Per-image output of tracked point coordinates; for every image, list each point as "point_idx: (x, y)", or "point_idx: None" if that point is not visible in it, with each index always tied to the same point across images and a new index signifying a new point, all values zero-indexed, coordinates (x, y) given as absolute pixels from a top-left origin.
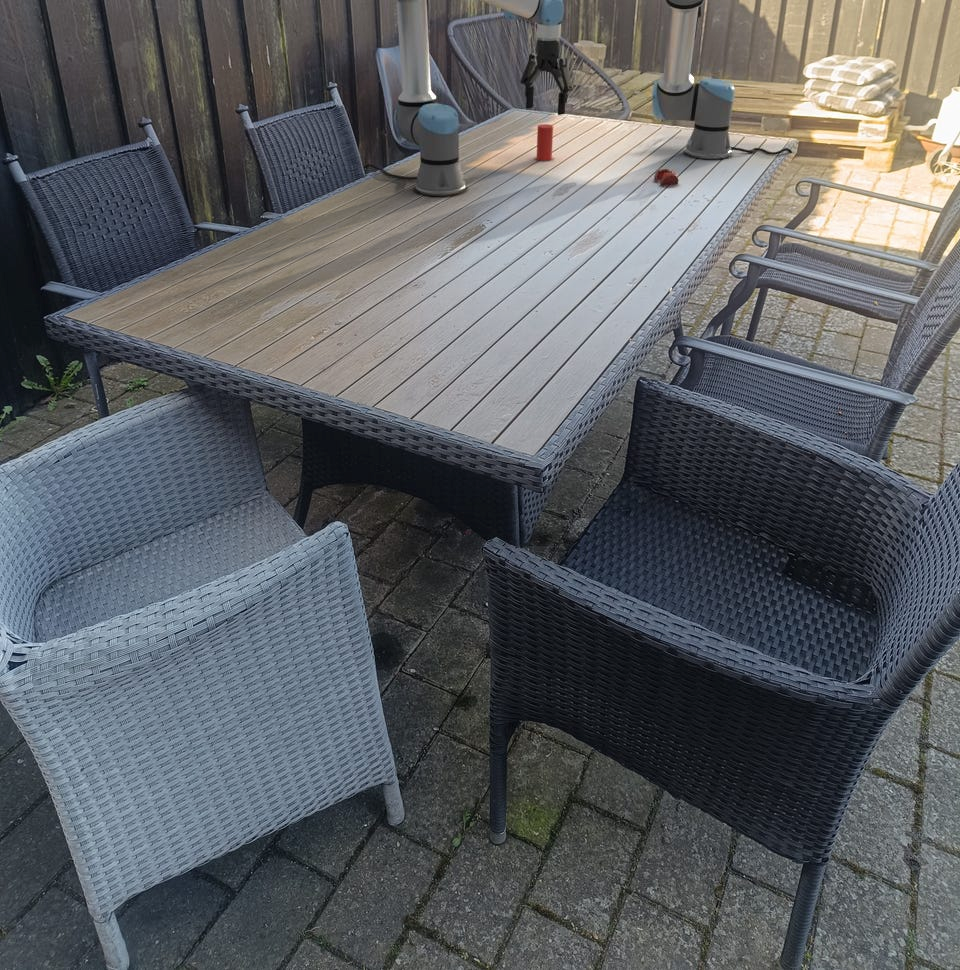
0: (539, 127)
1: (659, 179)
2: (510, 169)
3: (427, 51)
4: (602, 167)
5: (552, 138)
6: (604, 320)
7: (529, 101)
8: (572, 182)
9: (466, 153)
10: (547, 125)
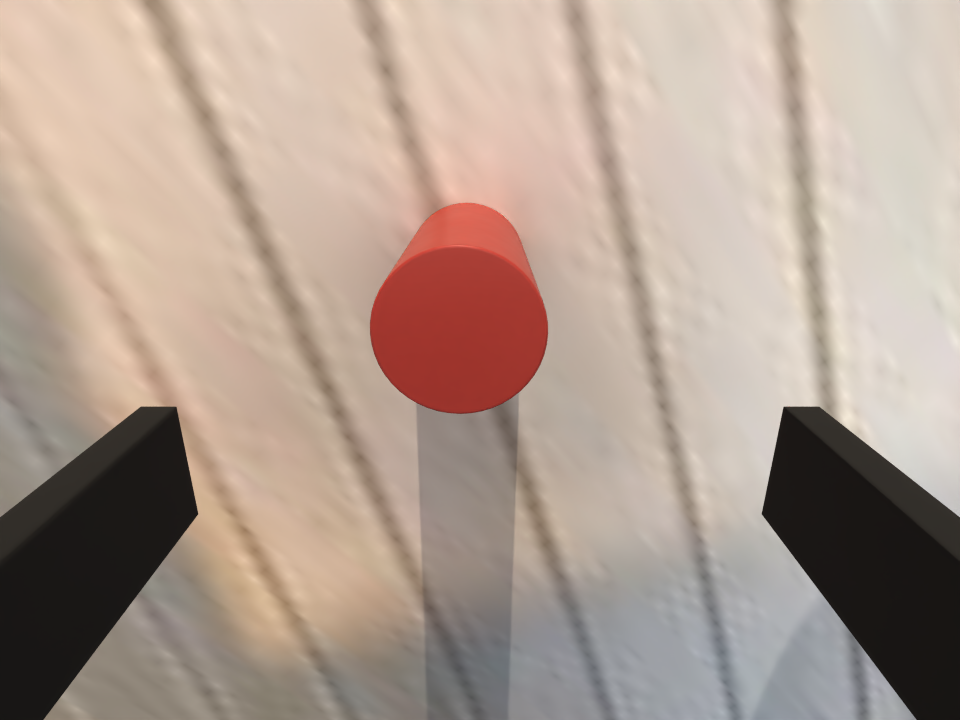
0: (445, 411)
1: None
2: (475, 566)
3: None
4: (954, 139)
5: (529, 266)
6: None
7: (139, 547)
8: None
9: None
10: (458, 299)
